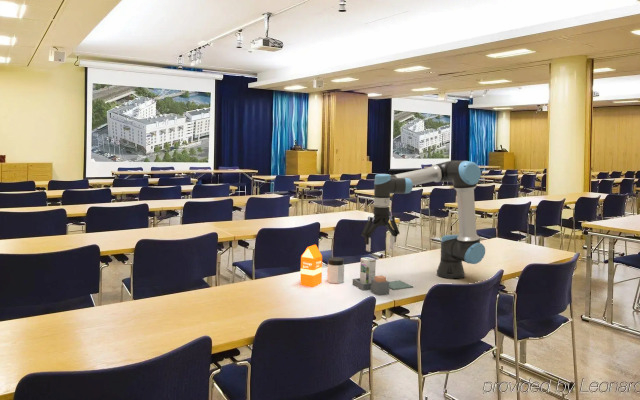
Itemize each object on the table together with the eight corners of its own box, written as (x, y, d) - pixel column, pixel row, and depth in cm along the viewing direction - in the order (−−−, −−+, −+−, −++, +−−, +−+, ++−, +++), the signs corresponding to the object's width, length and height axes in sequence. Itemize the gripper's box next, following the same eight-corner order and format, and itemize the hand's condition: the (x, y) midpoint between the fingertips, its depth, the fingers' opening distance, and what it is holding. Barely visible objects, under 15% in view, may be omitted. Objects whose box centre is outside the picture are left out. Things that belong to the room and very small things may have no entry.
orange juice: (321, 283, 249) (322, 245, 247) (313, 287, 241) (314, 247, 239) (308, 281, 253) (309, 243, 251) (300, 285, 245) (300, 246, 243)
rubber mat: (399, 281, 256) (399, 280, 256) (413, 287, 245) (413, 286, 245) (380, 283, 251) (380, 282, 251) (393, 289, 240) (393, 288, 240)
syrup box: (359, 286, 246) (360, 257, 244) (367, 284, 249) (368, 256, 248) (366, 288, 241) (367, 260, 240) (375, 286, 245) (376, 258, 243)
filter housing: (370, 282, 252) (371, 271, 252) (393, 293, 234) (393, 281, 233) (352, 284, 248) (352, 273, 247) (373, 295, 229) (373, 283, 229)
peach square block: (381, 283, 237) (381, 275, 236) (385, 285, 233) (386, 277, 233) (374, 284, 235) (374, 276, 234) (378, 286, 231) (379, 278, 231)
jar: (324, 282, 250) (325, 259, 249) (329, 278, 258) (329, 256, 257) (341, 284, 248) (342, 261, 247) (345, 280, 256) (346, 258, 254)
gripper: (363, 208, 222) (362, 253, 225) (407, 206, 233) (406, 249, 235) (355, 206, 229) (353, 250, 231) (398, 204, 240) (397, 246, 242)
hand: (380, 250), depth 233 cm, fingers open, 13 cm apart
